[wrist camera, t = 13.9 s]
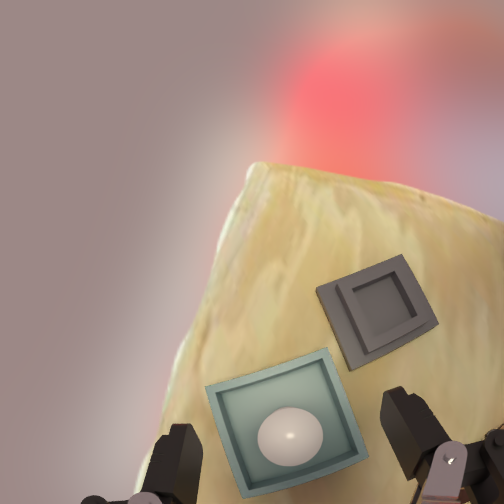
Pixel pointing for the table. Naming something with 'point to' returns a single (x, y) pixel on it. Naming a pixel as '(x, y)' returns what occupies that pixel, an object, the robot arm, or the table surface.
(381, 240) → the table surface
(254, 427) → the parts tray
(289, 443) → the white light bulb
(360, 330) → the grey recessed base plate
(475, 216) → the table surface
